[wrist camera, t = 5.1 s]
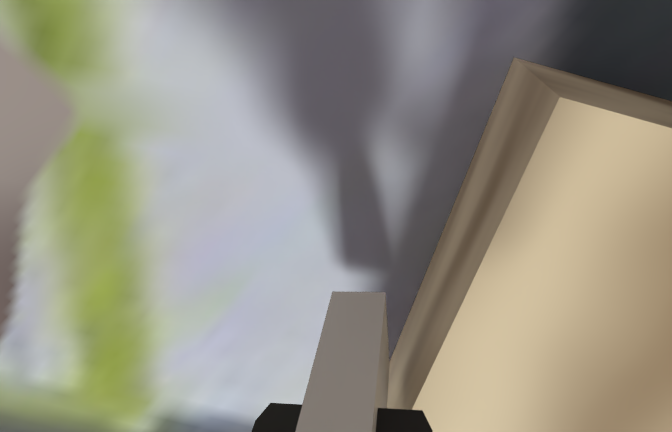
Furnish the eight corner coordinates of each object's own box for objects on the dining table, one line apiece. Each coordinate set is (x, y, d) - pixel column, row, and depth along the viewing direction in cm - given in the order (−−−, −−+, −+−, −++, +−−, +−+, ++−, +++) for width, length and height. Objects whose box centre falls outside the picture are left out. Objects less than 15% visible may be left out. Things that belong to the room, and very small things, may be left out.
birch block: (380, 379, 18) (370, 496, 14) (511, 55, 12) (559, 96, 8) (613, 447, 18) (671, 585, 14) (858, 152, 12) (1080, 242, 8)
